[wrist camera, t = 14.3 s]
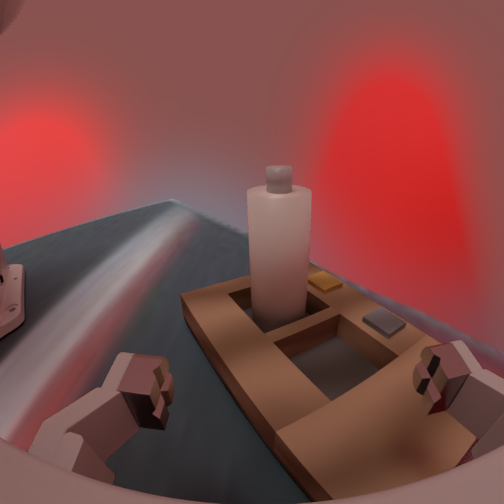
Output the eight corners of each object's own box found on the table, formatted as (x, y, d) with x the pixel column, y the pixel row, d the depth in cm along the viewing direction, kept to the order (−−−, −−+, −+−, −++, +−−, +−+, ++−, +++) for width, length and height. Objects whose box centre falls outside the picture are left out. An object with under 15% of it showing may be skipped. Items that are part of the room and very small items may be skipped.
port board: (184, 319, 24) (179, 289, 22) (303, 282, 29) (305, 255, 28) (358, 551, 7) (380, 541, 6) (489, 413, 12) (510, 383, 11)
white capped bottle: (251, 339, 21) (244, 173, 16) (252, 307, 24) (247, 163, 20) (307, 337, 21) (317, 172, 16) (301, 306, 24) (306, 162, 19)
